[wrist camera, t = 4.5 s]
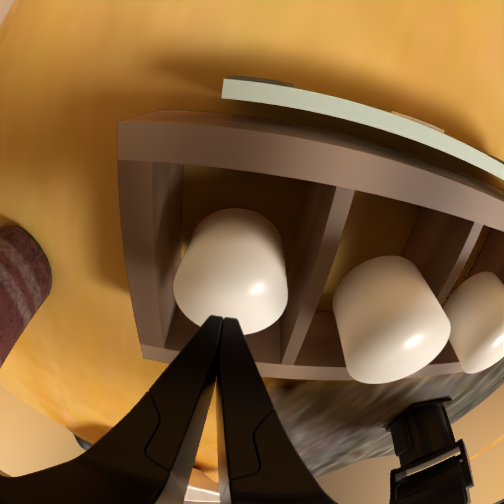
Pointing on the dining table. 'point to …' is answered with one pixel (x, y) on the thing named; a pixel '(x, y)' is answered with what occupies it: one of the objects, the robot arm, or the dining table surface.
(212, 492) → the bowl
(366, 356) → the button mid
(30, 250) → the can
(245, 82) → the card
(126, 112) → the dining table surface
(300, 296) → the brown compartment tray
